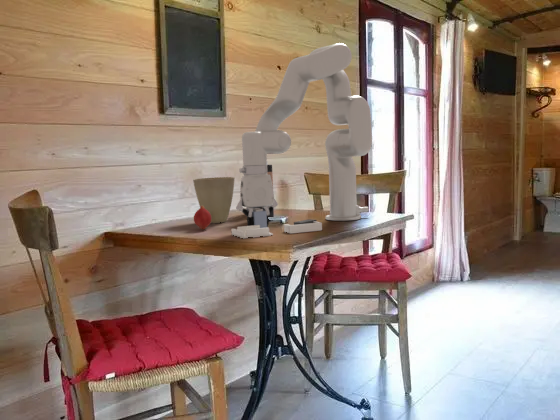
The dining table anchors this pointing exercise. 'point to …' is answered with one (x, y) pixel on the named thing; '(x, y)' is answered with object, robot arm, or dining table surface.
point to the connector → (260, 217)
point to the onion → (202, 218)
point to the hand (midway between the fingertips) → (258, 227)
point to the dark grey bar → (304, 222)
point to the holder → (251, 231)
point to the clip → (303, 227)
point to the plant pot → (215, 196)
